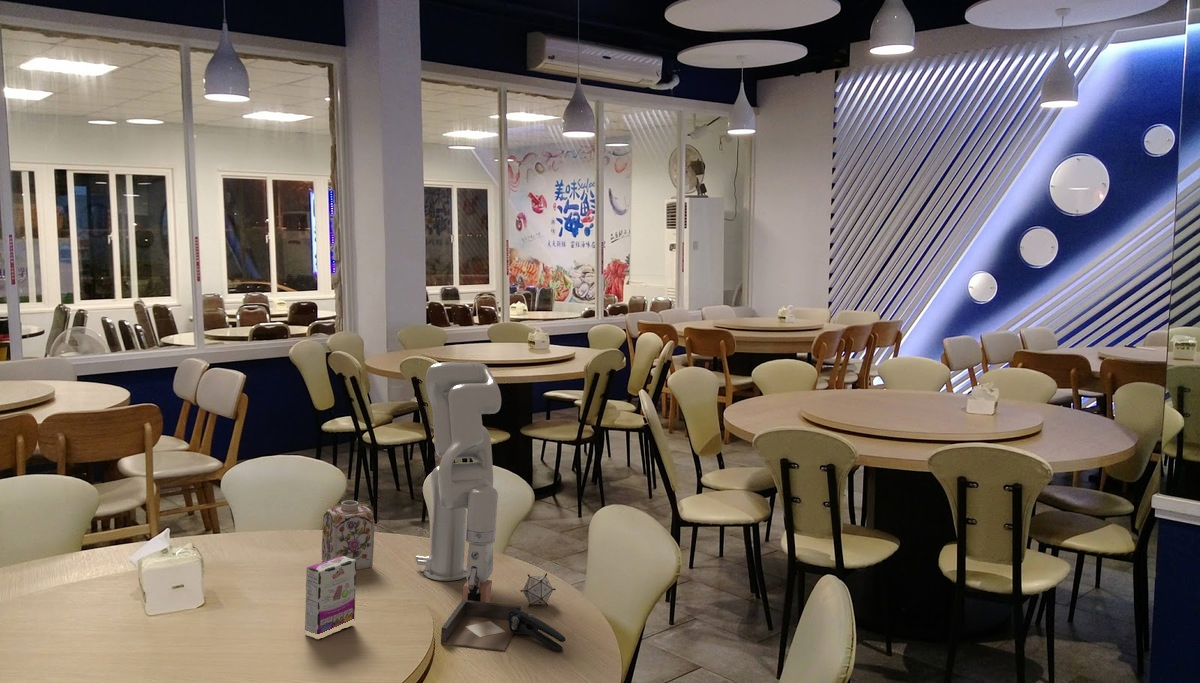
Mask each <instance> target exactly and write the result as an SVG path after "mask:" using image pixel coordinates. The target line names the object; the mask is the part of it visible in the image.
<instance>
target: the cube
mask: <svg viewBox="0 0 1200 683" xmlns="http://www.w3.org/2000/svg"><path fill="white" fill-rule="evenodd" d="M475 581H479V579H475ZM492 583H493V580H490V579H487V581H486V582H485V583H482V582H481V585H480V592H479V593H481V596H480V602H488V603H492V602H491V599H492V585H493V584H492ZM468 584H469V581H467V580H466V582H465V583H464V585H463V588H462V600H467V599H468V588H469V586H468ZM475 585H476V587H477V585H478V583H475Z"/></svg>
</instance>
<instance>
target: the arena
mask: <svg viewBox="0 0 1200 683" xmlns="http://www.w3.org/2000/svg"><path fill="white" fill-rule="evenodd" d="M514 608H516V609H518V610H521V611H522V606H521V605H513V604H505V603H504V604H503V603H496V602H495V603H494V602H491V603H488V602H479V601H471V600H463V599H462V600H461V601H460V602H459V603H458V605H457V606H456V607H455V609H454V610H453V611H452V613H451V614H450V616H449V617H448V619H447V620H446V621H445V622H444V624H443V625H442V626H441V629H440V631H441V632H440V633H441V635H440V644H441V645H447V646H454V647H462V648H463V647H464V648H471V649H478V650H486V651H487V650H488V651H495V652H496V651H497V652H505V651H506V649H507V647H508V645H509V643H510V641H511V640H512V638H513V635H514V634H515V633H513V632H511V631H510V628H509V620H508V618H509V617H508V616H509V612H510V611H511V610H512V609H514Z"/></svg>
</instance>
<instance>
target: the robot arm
mask: <svg viewBox="0 0 1200 683" xmlns="http://www.w3.org/2000/svg"><path fill="white" fill-rule="evenodd" d="M425 389H426V394H427V397H428V400H429V404H430V405H431V410H432V419H433V420H432V423H433V441H434V449H435V453H436V455H437V456H438V457H439V458H441V460H440V462H439V465H437V466H436V467H434V468H433V470H432V472H431V475H430V484H431V493H432V494H431V495H432V517H431V520H432V521H431V534H430V537H431V538H430V552H429V553H430V554H429V555H426V556H424V555H416V557H415V563H416V565H418V566H419V565H420V566H425V567H424V568H423V575H424V576H425V577H427V578H428V579H431V580H433V581H434V580H435V581H443V582H450V581H451V582H452V581H458V580H462V579H465V578H466V582H467V581H469V584H468V586H469V588H468V599H467V600H471V601H479V602H480V596H481V593H479V592H480V585H481V582H482V583H485V582H486V581H487V580H489V578H490V576H491V575H492V574H493V570H494V568H493V567H494V544H495V543H496V532H497V531H496V530H497V529H496V528H497V516H498V503H499V502H498V501H499V494H498V493H499V492H498V490H497V489H496V488H494V468H493V467H494V466H493V452H492V440H491V435H490V432H489V430H488V429H487V428H486V427H485V426H484V425H483V420H482V419H483V418H482V415H491V414H496V413H498V412H499V411H500V410H501V406H502V395H501V390H500V387H499V385H498V383H497V381H496V379H495V378H494V376H493V374H492V372H491V370H490V369H489V367H488V366H487V364H485V363H482V362H460V361H459V362H458V361H457V362H456V361H449V362H448V361H444V362H437V363H434V364H432V365H430V366H429V367H428V368H427V370H426V374H425ZM455 459H471V460H472V462H455ZM466 509H467V511H466ZM466 543H468V548H467V560H466V565H465V562H464V561H465V552H466V550H465V549H466ZM475 579H479V581H475ZM475 583H478V585H477V587H476V585H475Z"/></svg>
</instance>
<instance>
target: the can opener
mask: <svg viewBox="0 0 1200 683" xmlns="http://www.w3.org/2000/svg"><path fill="white" fill-rule="evenodd" d="M508 617H509V618H508V620H509V628H510V631H511V632H513V633H514V634H515V635H516V634H517V635H529V636H531V637H533V639H536V640H537V641H538V642H539V643H541V644H542V645H544V646H545V647H547V648H549V649H551V650H553V651H556V652H563V651H564V649H563V647H562V645H561V644H559V643H558V642H561V643H564V642H566V637H565V636H564V635H563V634H562V633H560V632H559V631H558V630H556V629H554V628H553V627H552V626H550V625H549V624H547V623H546V622H544V621H542V620H541V619H538V618H537V617H534V614H533V613H527V612H526V611H523V610H522V609H521V610H518V609H516V608H514V609H512V610H511V611H510V612H509V616H508ZM547 635H548V636H549V637H548V636H547ZM550 637H551V638H550ZM552 638H553V639H555V640H557V642H556V641H555V640H553V639H552Z"/></svg>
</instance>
